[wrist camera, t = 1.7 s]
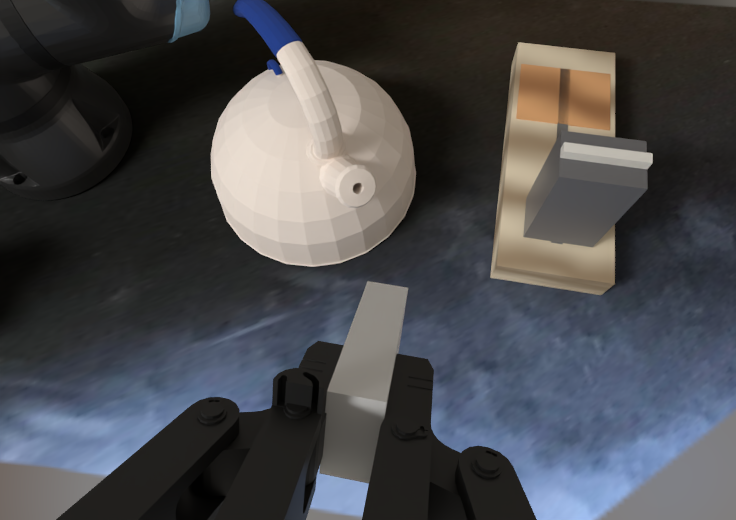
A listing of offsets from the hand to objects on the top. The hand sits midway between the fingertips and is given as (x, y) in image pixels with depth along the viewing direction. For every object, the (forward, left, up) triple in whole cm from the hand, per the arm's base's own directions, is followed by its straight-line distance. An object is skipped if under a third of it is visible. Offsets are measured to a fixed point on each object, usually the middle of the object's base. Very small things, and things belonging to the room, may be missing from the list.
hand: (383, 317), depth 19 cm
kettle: (-22, +7, -26) cm, 35 cm away
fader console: (-9, +27, -26) cm, 39 cm away
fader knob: (-4, +22, -23) cm, 32 cm away
